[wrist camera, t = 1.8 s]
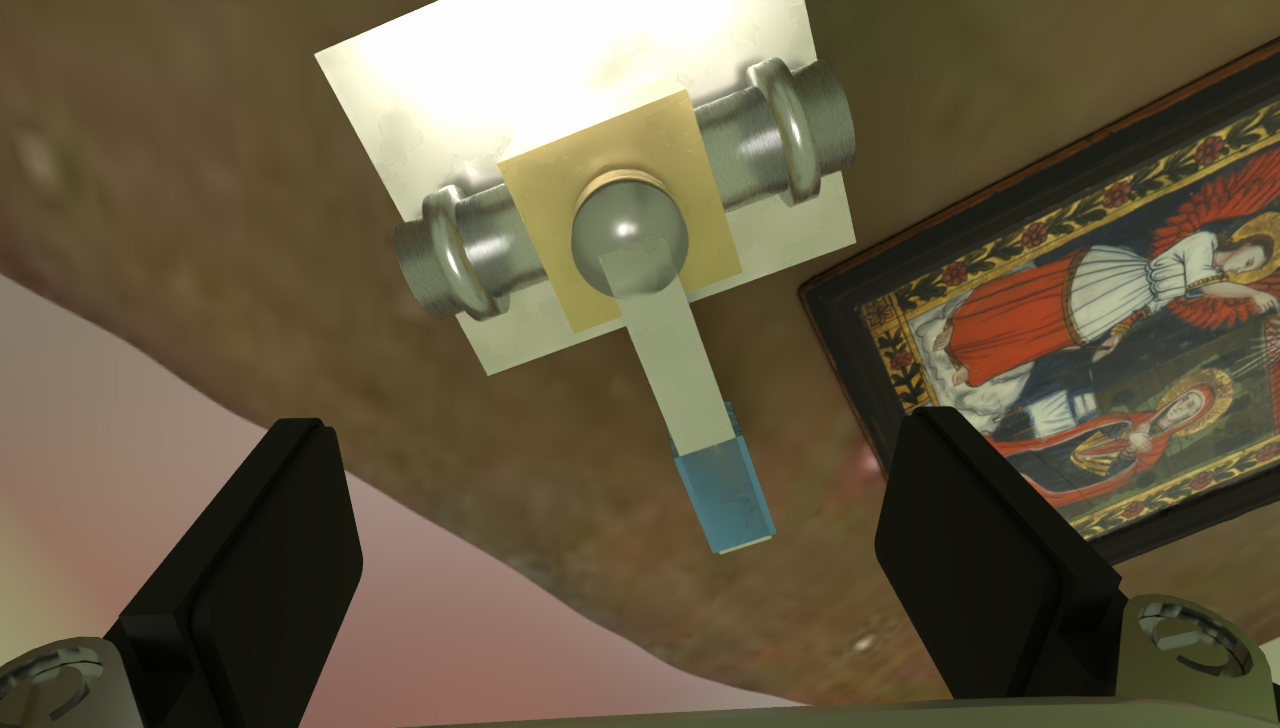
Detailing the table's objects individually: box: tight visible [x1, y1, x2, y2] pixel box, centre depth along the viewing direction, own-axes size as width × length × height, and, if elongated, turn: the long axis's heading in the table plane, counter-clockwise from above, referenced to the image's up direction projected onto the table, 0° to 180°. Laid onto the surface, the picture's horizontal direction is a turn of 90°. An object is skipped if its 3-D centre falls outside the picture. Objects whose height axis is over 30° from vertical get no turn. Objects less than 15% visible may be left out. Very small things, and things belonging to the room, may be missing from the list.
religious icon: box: [799, 36, 1280, 566], centre depth 41 cm, size 38×35×3 cm
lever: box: [571, 169, 776, 554], centre depth 29 cm, size 18×4×3 cm, turn 20°
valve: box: [314, 0, 856, 376], centre depth 31 cm, size 22×18×8 cm
